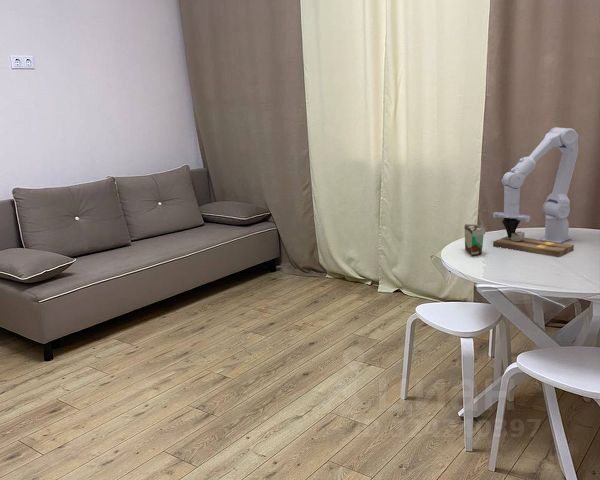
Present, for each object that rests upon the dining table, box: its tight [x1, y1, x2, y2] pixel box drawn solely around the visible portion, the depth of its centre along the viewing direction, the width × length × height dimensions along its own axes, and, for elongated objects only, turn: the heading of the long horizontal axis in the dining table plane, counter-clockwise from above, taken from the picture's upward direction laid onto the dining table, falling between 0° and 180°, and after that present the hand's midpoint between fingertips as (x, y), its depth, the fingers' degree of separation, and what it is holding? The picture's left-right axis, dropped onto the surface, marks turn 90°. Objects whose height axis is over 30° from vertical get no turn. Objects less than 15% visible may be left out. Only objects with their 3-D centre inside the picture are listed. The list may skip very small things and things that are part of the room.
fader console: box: [492, 235, 575, 258], centre depth 227 cm, size 12×26×2 cm, turn 42°
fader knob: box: [511, 230, 525, 241], centre depth 231 cm, size 4×3×3 cm
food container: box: [463, 223, 486, 257], centre depth 224 cm, size 12×6×10 cm, turn 179°
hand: (510, 237), depth 233 cm, fingers closed
